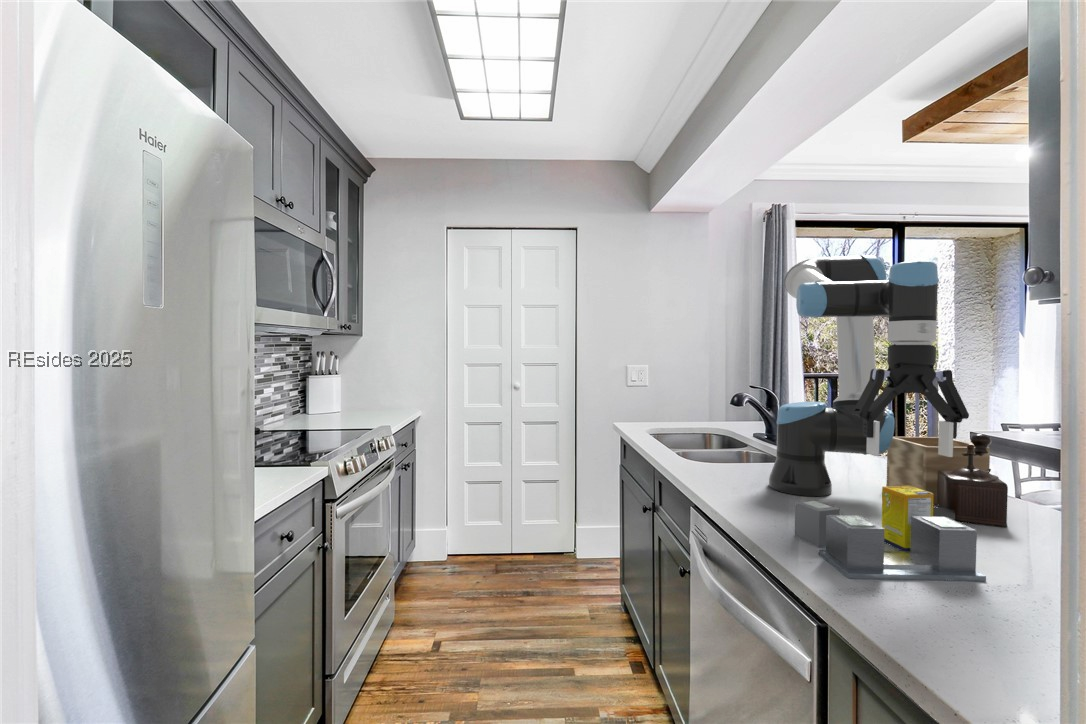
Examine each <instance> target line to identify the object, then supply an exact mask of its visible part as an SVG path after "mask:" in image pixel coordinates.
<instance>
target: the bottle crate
mask: <svg viewBox="0 0 1086 724" xmlns="http://www.w3.org/2000/svg"><path fill="white" fill-rule="evenodd" d="M938 438H939V436H893V439H892V442H891V444H890V447H889V448H888V450H887V451H886V452H887V454H886V461H887V462H886V486H885V487H887V486H912V487H915V488H918V489H921V490H924V491H928V492H931V493H933V495H934V496H933V505H938V497H937V481H938V470H940V471H954V470H956V469H959V468H962V467H967V466H968V456H963V455H962V453H965V452H967V450H968V449H967V446H968V445H969V444H972V445H974V444H973V443H972V442H966V441H963V440H958V439H953V457H947V456H943V455H939V454H938ZM974 449H975V446H974ZM987 450H988V452H989V454H984V455H982V456H979V455H976V456H973V464H974V467H977V468H979V469H982V470H984V471H988V470H989V469H990V462H991V461H990V459H991V458H990V457H991V448H990V447H989V446H988V447H987Z"/></svg>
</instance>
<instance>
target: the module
mask: <svg viewBox="0 0 1086 724" xmlns="http://www.w3.org/2000/svg"><path fill="white" fill-rule="evenodd" d="M826 515H841V509H840V507H839V508H838V507H835V506H833V505H829V504H827V503H824V502H821V501H818V500H815V499H812V500H805V501H804V500H803V501H795V502H794V538H797V539H798V540H801V541H803V542H806V543H808V544H810V545H812V546H814V547H817V548H826Z"/></svg>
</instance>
